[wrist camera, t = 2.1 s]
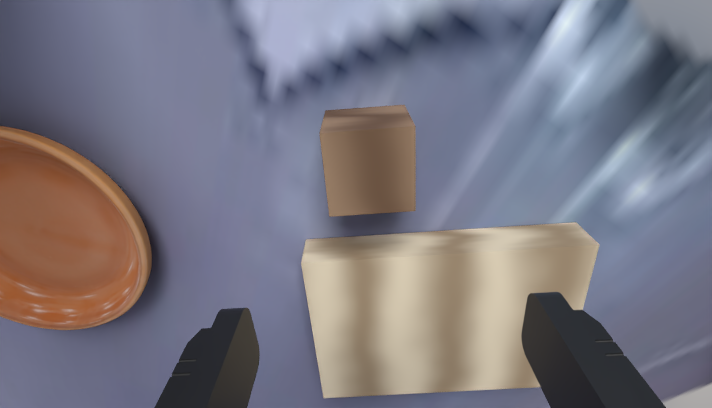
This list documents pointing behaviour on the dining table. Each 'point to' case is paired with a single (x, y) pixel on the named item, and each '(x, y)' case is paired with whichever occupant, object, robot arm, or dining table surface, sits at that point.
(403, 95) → the dining table surface
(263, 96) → the dining table surface
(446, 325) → the wooden block
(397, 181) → the walnut cube
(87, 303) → the saucer
